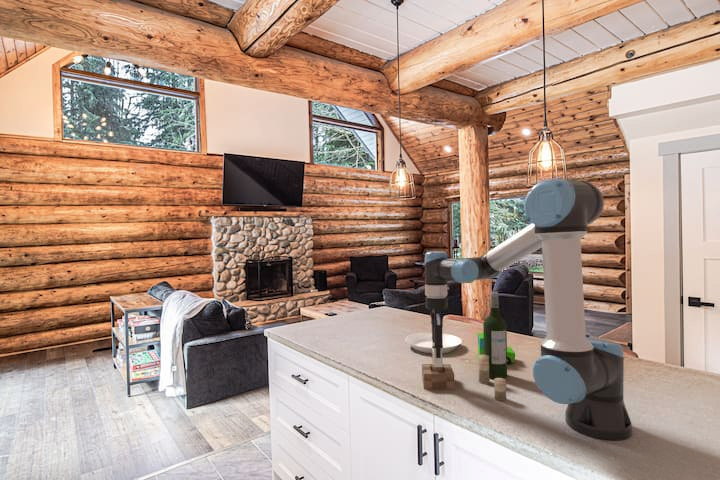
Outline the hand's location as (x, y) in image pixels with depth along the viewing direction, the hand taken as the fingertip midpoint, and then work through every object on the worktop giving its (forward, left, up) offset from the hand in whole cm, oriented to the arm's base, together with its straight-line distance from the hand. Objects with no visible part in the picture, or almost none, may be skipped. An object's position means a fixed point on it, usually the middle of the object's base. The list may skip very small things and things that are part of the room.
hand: (437, 364), depth 137 cm
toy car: (+25, -26, -7) cm, 36 cm away
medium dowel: (+2, -16, -7) cm, 17 cm away
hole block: (0, 0, -7) cm, 7 cm away
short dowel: (-12, -18, -7) cm, 23 cm away
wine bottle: (+8, -21, -7) cm, 24 cm away
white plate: (+43, -2, -7) cm, 44 cm away
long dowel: (0, 0, -7) cm, 7 cm away
